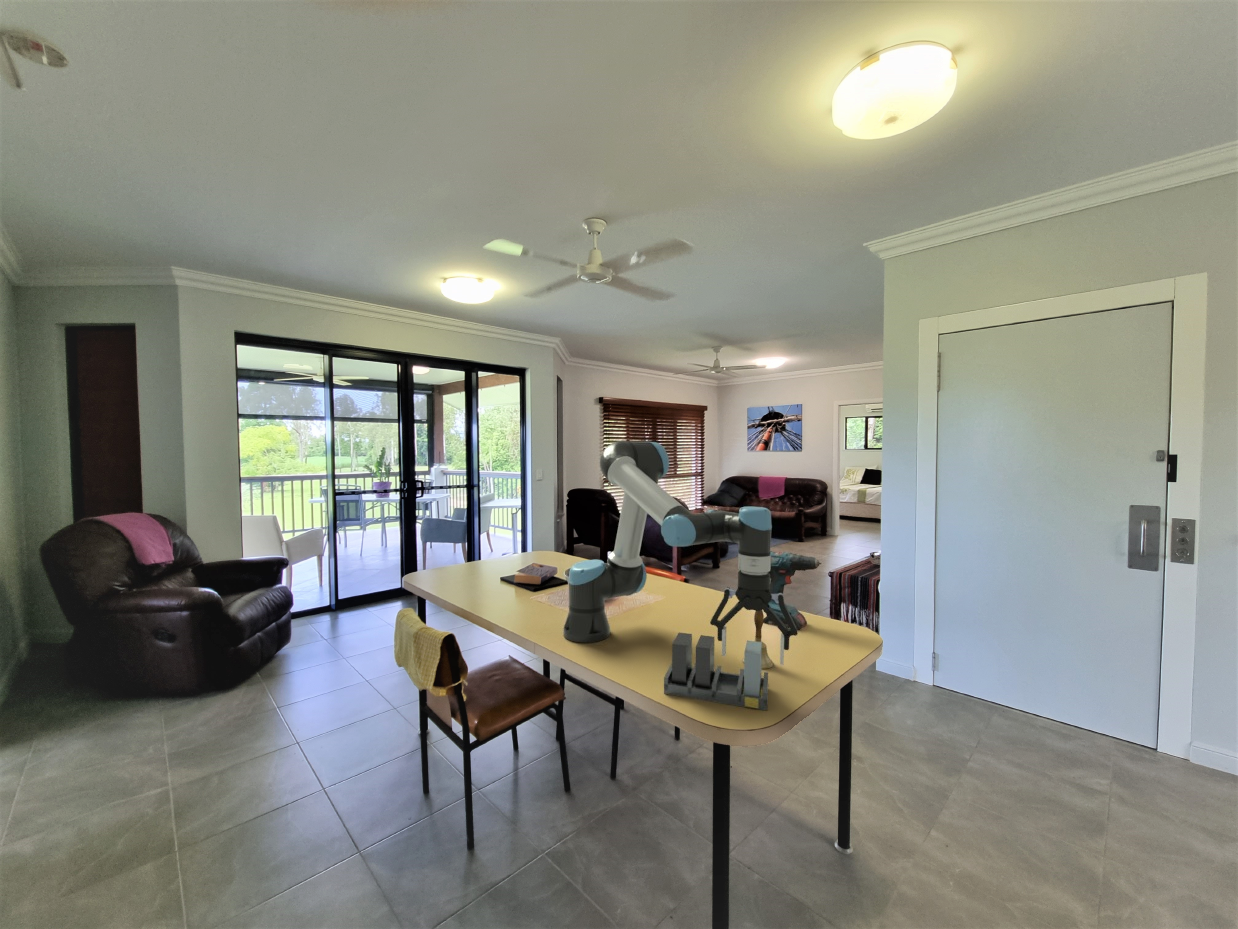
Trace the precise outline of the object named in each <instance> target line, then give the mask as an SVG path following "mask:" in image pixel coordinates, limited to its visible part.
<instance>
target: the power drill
mask: <svg viewBox="0 0 1238 929" xmlns="http://www.w3.org/2000/svg"><path fill="white" fill-rule="evenodd" d="M770 551H771V566H770V571H769V572H768V573H769V574H770V592H771V594H778V593H780V592H781V593H783V594H784V589H785V586H787V585H791V584H792V583H793V582H792V579H791V577H793V576H795V574H796V572H797V571H798V572H799V571H803V572H805V571H806V570H808V571H809V570H817V569H818V567H820V565H822V563H821V562H820V561H819V560H820V559H818V558H816V557H814V556H805V555H802V554H796V553H794V554H793V553H792V552H787V551H786V552H785V551H784V552H781V551H780V552H776V551H772V550H770ZM768 604H769V605H770V606H771V608H772V610H773V611H774V612H775V613H776V615H777V616H778V617H779V618H780V620H781V621H782V622H783V623H784V625H785V626H786V627H787V628H788V629H790V628H789V626H788V624H787V622H786V620H785V617H784V615H783V613H782V611H781V609H780V607H779V603H776V602H775V600H774V599H771V601H770V602H769V603H768ZM785 605H786V607H787V609H788V611H789V613H790V615H791V617H792V619H793V621H794V623H795V626H796V628H797V631H802V629H804V628H805V626H807V624H808V622H807V619H806V617H805V615H803V614H802V613H801V612H800V611H798V609H797V607H796V606H794V605H792V604H787V603H785ZM762 611H763V612H764V610H762ZM763 624H767V625H770V626H771V625H772V626H775V627H777V626H776V625H775V623H774V622H773V621H772V620H771V618H770V617H769V616H768V615H767V614H766V613H765V616H764V621H763Z"/></svg>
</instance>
